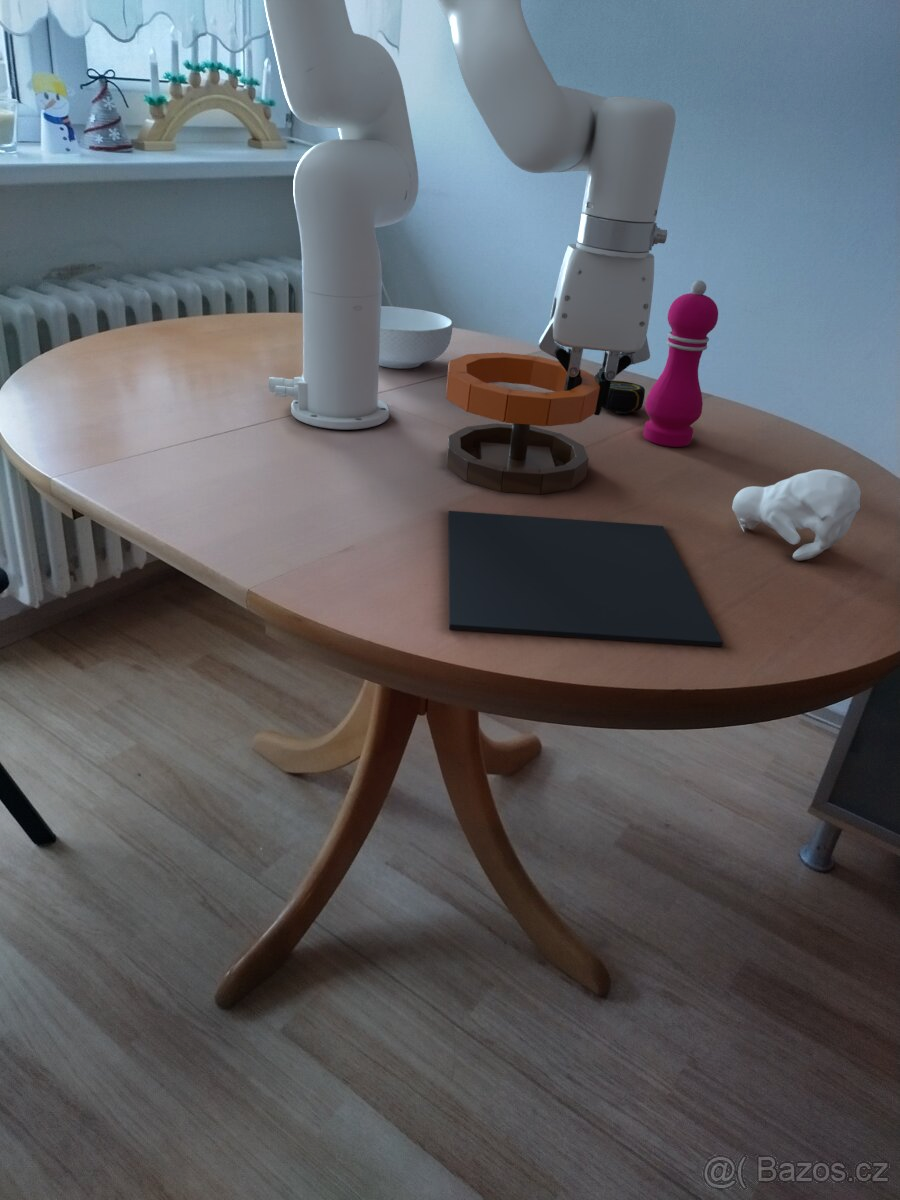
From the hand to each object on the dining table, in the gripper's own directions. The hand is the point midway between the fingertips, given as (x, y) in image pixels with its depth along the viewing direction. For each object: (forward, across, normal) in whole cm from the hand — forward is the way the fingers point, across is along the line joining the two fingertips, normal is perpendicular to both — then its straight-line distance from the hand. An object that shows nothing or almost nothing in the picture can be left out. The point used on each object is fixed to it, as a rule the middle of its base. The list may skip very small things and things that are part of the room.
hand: (583, 409), depth 98 cm
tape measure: (+8, -9, -26) cm, 28 cm away
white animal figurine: (+7, -19, +16) cm, 26 cm away
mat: (+7, +4, +26) cm, 27 cm away
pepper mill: (+7, -14, -14) cm, 21 cm away
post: (+8, +7, 0) cm, 10 cm away
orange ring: (0, +7, 0) cm, 7 cm away
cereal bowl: (+8, +23, -42) cm, 48 cm away
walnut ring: (+8, +7, 0) cm, 10 cm away
